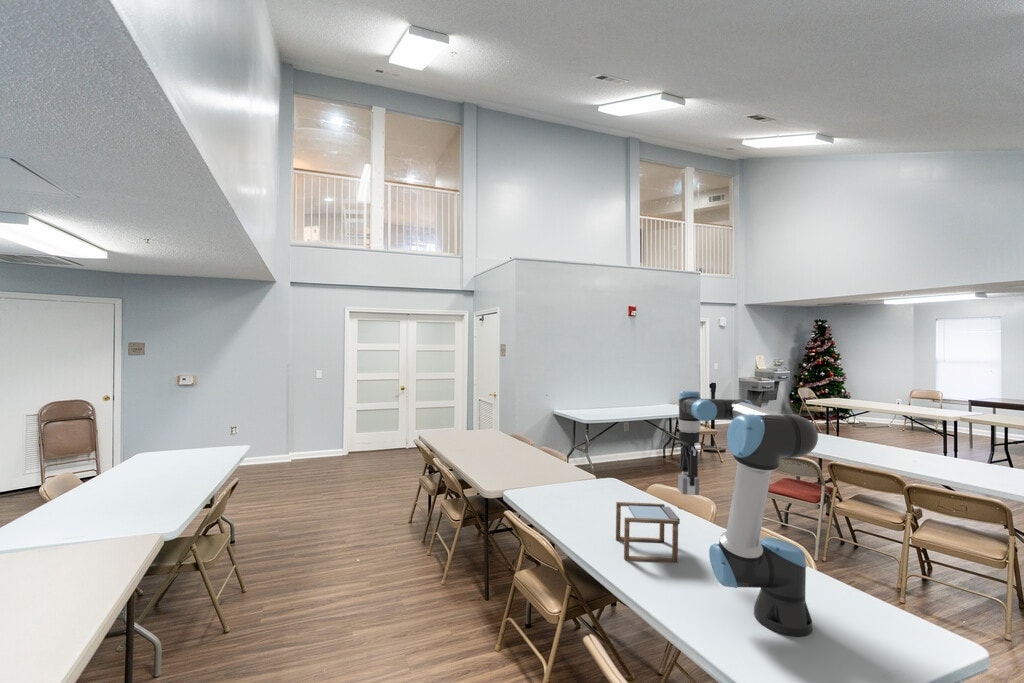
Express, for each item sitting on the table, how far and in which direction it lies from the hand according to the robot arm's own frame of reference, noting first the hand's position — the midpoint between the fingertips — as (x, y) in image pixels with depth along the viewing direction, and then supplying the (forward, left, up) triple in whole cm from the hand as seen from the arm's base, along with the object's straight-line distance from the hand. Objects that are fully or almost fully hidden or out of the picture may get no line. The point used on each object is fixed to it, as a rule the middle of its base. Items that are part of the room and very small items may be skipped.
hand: (688, 491), depth 175 cm
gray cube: (0, 0, 0) cm, 0 cm away
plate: (+9, +11, -14) cm, 19 cm away
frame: (+9, +14, -27) cm, 32 cm away
